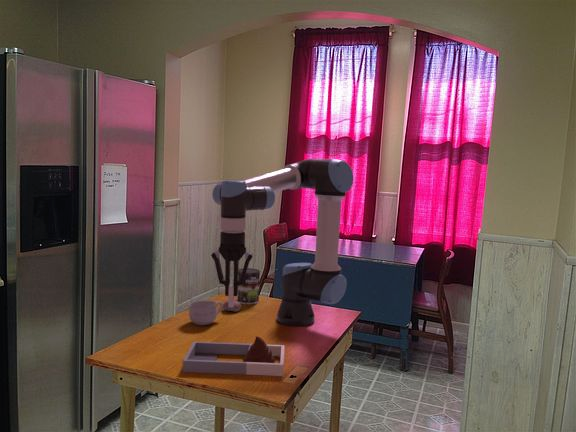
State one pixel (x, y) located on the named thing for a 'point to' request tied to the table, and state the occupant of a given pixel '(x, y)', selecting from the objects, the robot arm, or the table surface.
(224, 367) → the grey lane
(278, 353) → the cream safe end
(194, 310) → the teacup
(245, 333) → the table surface
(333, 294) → the robot arm
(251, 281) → the coffee can
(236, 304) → the garlic bulb
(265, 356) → the poop emoji
